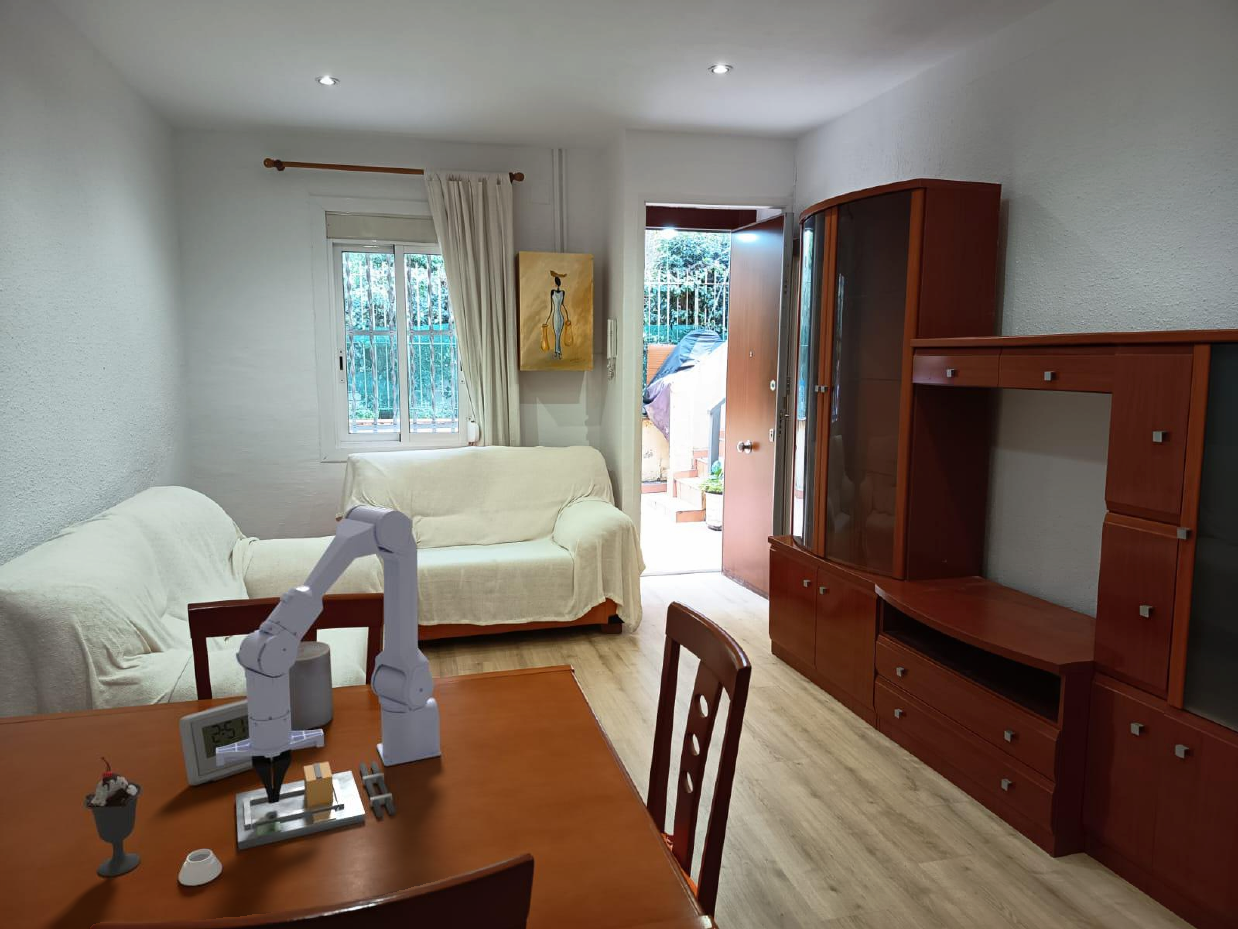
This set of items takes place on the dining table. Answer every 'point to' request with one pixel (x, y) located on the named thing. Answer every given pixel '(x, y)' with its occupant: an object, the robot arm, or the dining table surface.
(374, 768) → the cable bundle
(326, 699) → the pillar candle
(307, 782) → the cardboard box
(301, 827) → the grey metal tray
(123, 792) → the sundae
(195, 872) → the white hollow cone ring
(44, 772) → the dining table surface
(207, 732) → the digital clock
